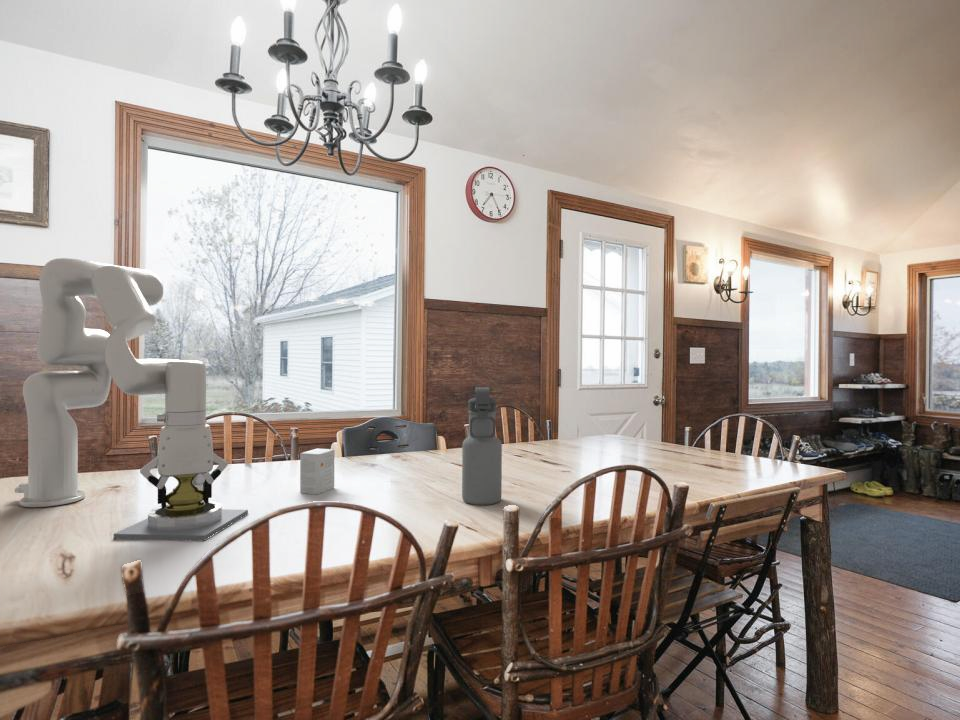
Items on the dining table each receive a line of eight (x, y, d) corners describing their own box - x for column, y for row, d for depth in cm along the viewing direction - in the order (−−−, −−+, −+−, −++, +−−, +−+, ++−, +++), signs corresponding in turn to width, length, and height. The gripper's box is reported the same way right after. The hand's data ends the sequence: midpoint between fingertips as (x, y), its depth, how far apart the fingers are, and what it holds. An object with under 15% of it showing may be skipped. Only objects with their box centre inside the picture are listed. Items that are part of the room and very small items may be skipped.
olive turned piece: (206, 509, 120) (207, 463, 120) (202, 518, 113) (203, 469, 113) (168, 512, 118) (168, 465, 118) (161, 522, 111) (162, 472, 111)
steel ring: (133, 530, 109) (133, 517, 109) (173, 511, 122) (173, 500, 122) (199, 531, 108) (199, 518, 108) (232, 512, 122) (232, 501, 122)
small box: (316, 486, 151) (317, 447, 151) (334, 487, 150) (335, 449, 150) (299, 493, 144) (299, 452, 144) (318, 494, 142) (318, 454, 142)
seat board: (113, 539, 107) (113, 533, 107) (169, 512, 125) (169, 508, 125) (204, 540, 106) (204, 535, 106) (247, 514, 124) (247, 509, 124)
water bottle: (502, 506, 132) (503, 389, 132) (461, 506, 132) (462, 389, 132) (500, 495, 142) (500, 386, 142) (462, 495, 142) (462, 386, 142)
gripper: (137, 423, 108) (136, 514, 108) (233, 419, 117) (233, 502, 117) (136, 419, 114) (135, 505, 114) (228, 415, 123) (227, 495, 123)
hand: (185, 503), depth 116 cm, fingers closed on olive turned piece, 7 cm apart
